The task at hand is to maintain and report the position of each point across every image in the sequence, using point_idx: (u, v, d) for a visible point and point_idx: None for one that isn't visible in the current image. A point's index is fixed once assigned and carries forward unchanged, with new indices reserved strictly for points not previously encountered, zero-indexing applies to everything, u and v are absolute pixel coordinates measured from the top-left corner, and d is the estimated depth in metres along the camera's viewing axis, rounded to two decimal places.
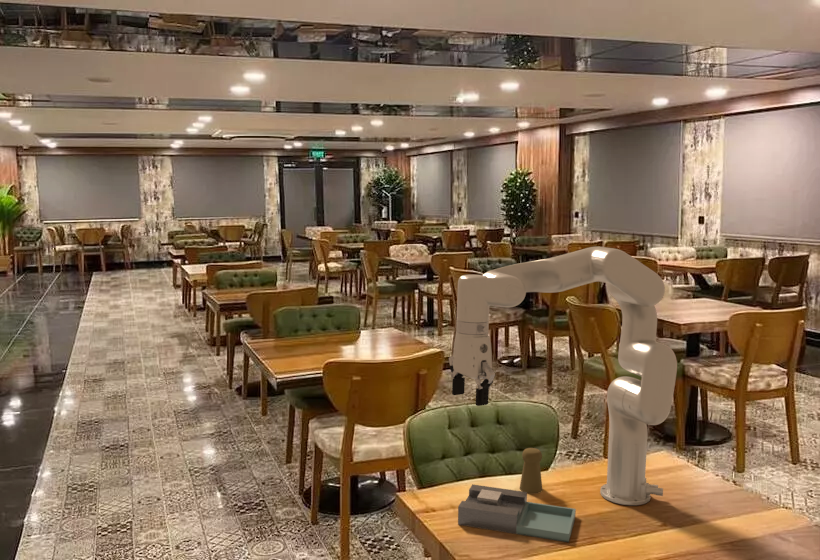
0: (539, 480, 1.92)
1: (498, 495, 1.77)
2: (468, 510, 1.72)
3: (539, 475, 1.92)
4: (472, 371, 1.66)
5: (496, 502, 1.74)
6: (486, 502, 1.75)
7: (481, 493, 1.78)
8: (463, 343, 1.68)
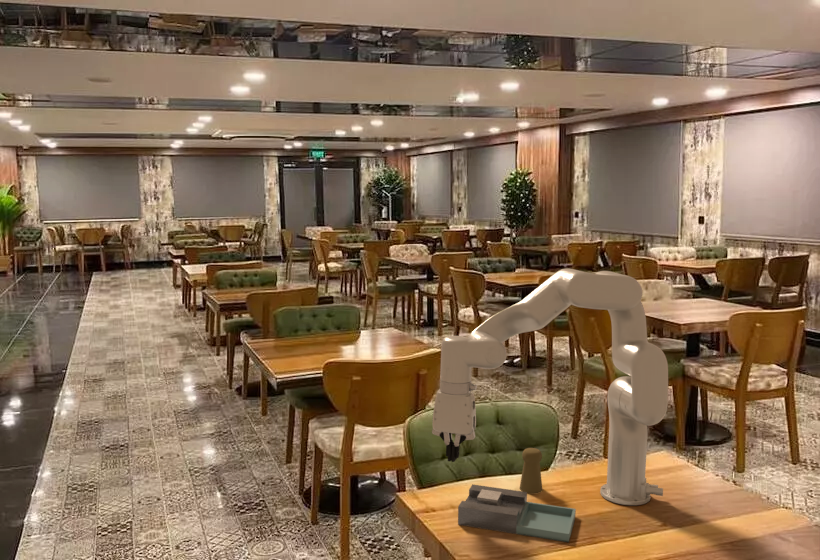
0: (539, 480, 1.92)
1: (498, 495, 1.77)
2: (468, 510, 1.72)
3: (539, 475, 1.92)
4: (465, 428, 1.75)
5: (496, 502, 1.74)
6: (486, 502, 1.75)
7: (481, 493, 1.78)
8: (452, 403, 1.75)
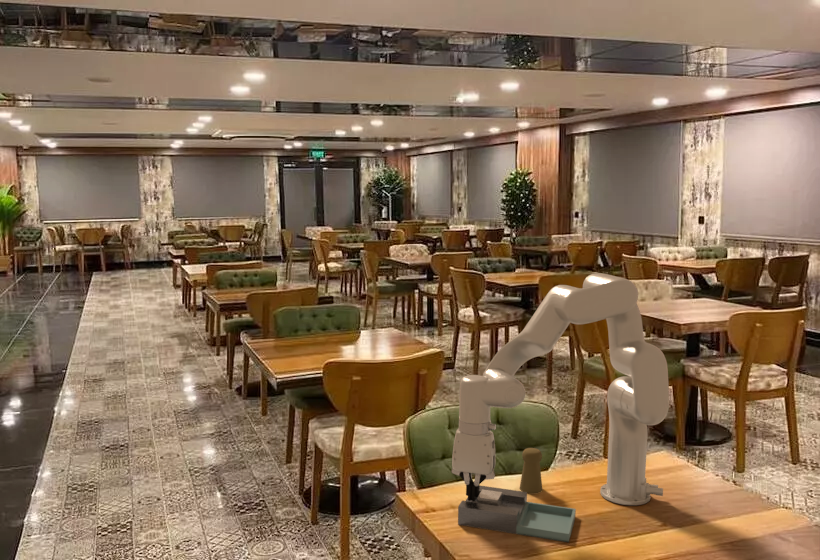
0: (539, 480, 1.92)
1: (498, 495, 1.77)
2: (468, 510, 1.72)
3: (539, 475, 1.92)
4: (485, 468, 1.74)
5: (496, 502, 1.74)
6: (486, 502, 1.75)
7: (481, 493, 1.78)
8: (472, 443, 1.74)
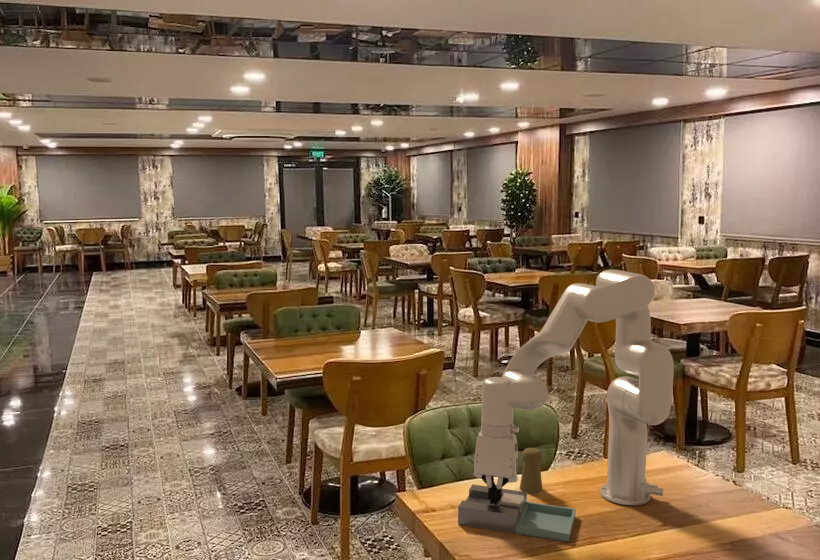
0: (539, 480, 1.92)
1: (521, 499, 1.75)
2: (468, 510, 1.72)
3: (539, 475, 1.92)
4: (508, 471, 1.73)
5: (519, 506, 1.72)
6: (508, 506, 1.73)
7: (504, 497, 1.76)
8: (495, 446, 1.73)
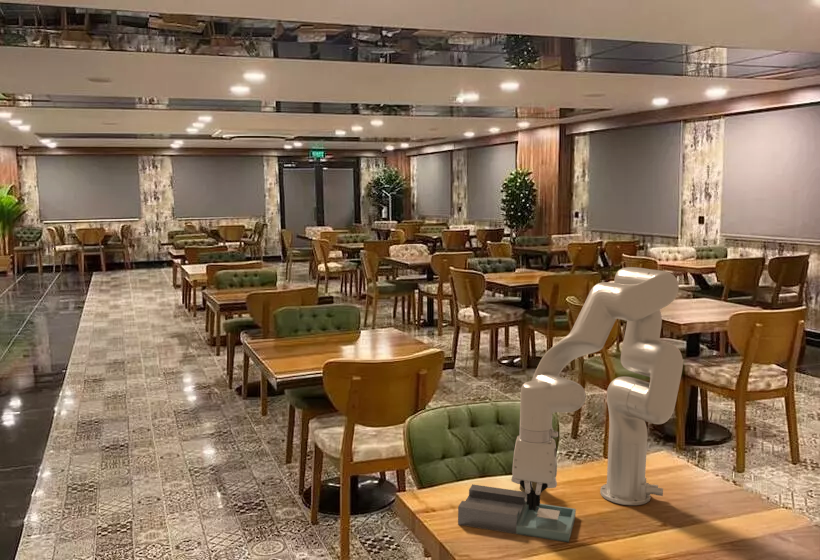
0: None
1: None
2: (468, 510, 1.72)
3: None
4: (548, 476, 1.70)
5: (536, 524, 1.71)
6: (547, 524, 1.71)
7: None
8: (534, 451, 1.70)
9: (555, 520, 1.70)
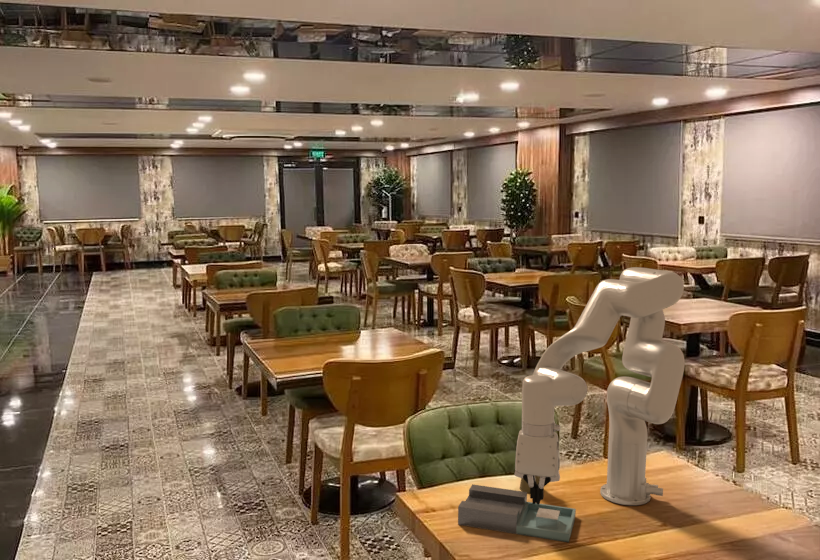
0: (539, 480, 1.92)
1: None
2: (468, 510, 1.72)
3: None
4: (551, 470, 1.70)
5: (536, 524, 1.71)
6: (547, 524, 1.71)
7: None
8: (536, 445, 1.70)
9: (555, 520, 1.70)
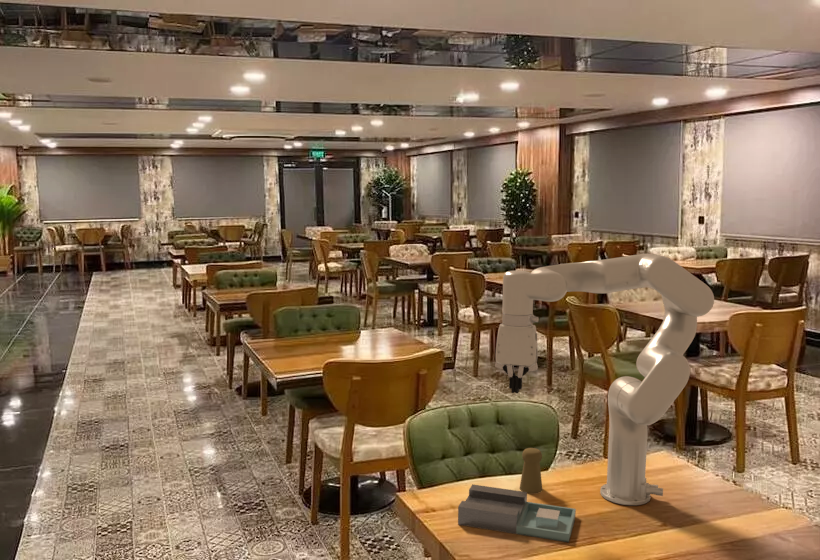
0: (539, 480, 1.92)
1: None
2: (468, 510, 1.72)
3: (539, 475, 1.92)
4: (529, 359, 1.80)
5: (536, 524, 1.71)
6: (547, 524, 1.71)
7: None
8: (516, 335, 1.79)
9: (555, 520, 1.70)
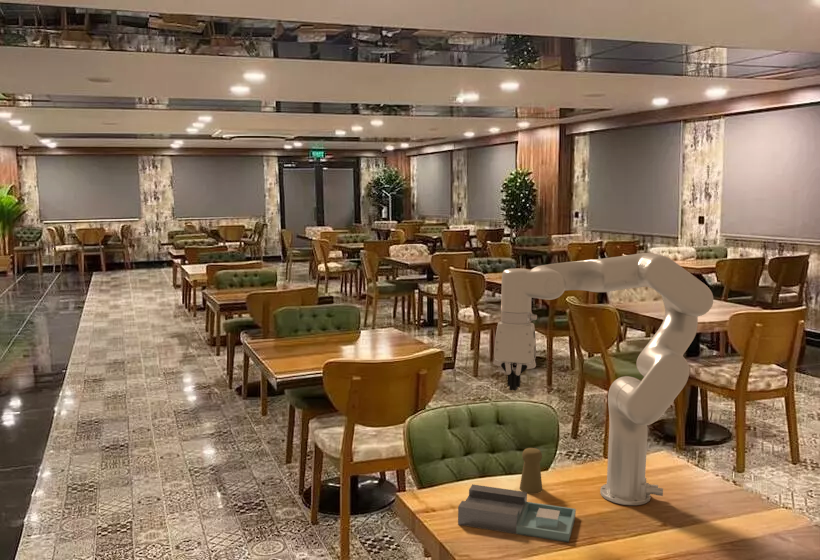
0: (539, 480, 1.92)
1: None
2: (468, 510, 1.72)
3: (539, 475, 1.92)
4: (527, 357, 1.80)
5: (536, 524, 1.71)
6: (547, 524, 1.71)
7: None
8: (514, 333, 1.80)
9: (555, 520, 1.70)
